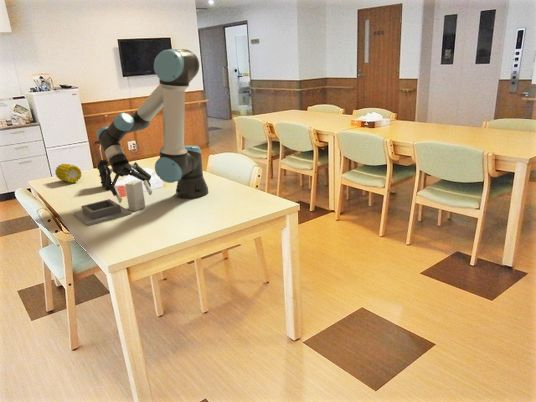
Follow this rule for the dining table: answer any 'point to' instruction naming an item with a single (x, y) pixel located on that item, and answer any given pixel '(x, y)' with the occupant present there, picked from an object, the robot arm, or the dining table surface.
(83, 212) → the dock
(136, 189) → the skincare box
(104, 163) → the black knobby slab
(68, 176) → the food
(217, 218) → the dining table surface
